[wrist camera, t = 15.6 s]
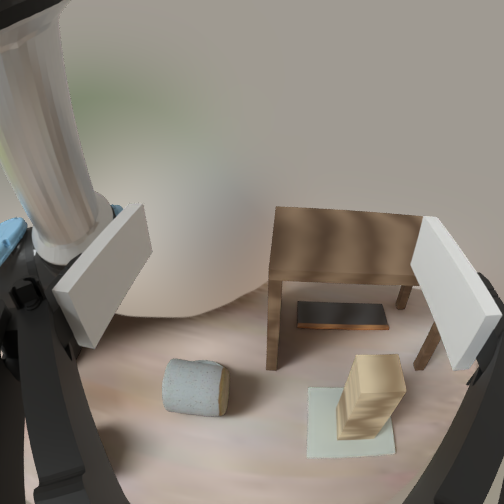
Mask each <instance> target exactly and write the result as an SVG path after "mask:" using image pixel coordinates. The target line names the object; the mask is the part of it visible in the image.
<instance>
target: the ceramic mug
mask: <svg viewBox="0 0 504 504" xmlns="http://www.w3.org/2000/svg"><path fill="white" fill-rule="evenodd" d="M229 384H230V375H229V371H228V370H227V369H226V368H224V367H223V366H221V365H220V364H218V363H216V362H213V361H208V360H198V361H187V360H181V359H171V360H170V362H169V363H168V365H167V367H166V370H165V374H164V378H163V384H162V399H163V404H164V407H165V409H166V410H167V411H170V412H177V413H185V414H193V415H202V416H211V417H213V416H222V415H223V414H224V413H225V412H226V409H227V404H228V396H229Z"/></svg>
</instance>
